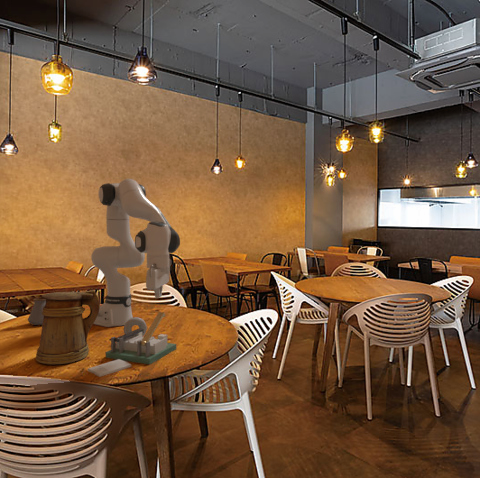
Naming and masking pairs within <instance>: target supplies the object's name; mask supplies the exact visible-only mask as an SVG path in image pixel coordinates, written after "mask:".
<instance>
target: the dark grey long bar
mask: <svg viewBox="0 0 480 478" xmlns="http://www.w3.org/2000/svg"><path fill="white" fill-rule="evenodd" d="M140 332H142V334H143V333H144V329H139V328H137V329H134V330H132V331H131V332H129V333H127V334H122V335H120V336H118V337H115V338H114V341H115V342H119V339H120V338H124V339H126V338H129V337H131V336H133V335H135V334H138V333H140Z"/></svg>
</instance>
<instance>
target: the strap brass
mask: <svg viewBox="0 0 480 478" xmlns="http://www.w3.org/2000/svg"><path fill="white" fill-rule="evenodd" d="M165 317H166V314H165V312H161V311H159V312H158V313H157V314H156V316H155V318H154V319H153V320H152V321H153V322H152V323H151V325H150V326H149V327H148V328H147V330H146V333H145V335H144V336H143V337H144V338H143V339H142V341H141V342H140V345H143V346H146V342H148V341H149V340H150V338H151V337H153V334H154V333H155V331H156V329H157V328H158V326H159V324H160V323H161V321H162V319H163V318H165Z"/></svg>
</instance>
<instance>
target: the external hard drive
mask: <svg viewBox="0 0 480 478" xmlns="http://www.w3.org/2000/svg"><path fill="white" fill-rule="evenodd" d="M131 367H132V364H131V363H129V362H128V361H125V360H120V359H113V360H112V361H108V362H105V363H102V364H99V365H95V366H92V367H88V368H87V372H89V373H90V374H94V375H95V376H97V377H99V378H100V377H103V376H107V375H109V374H113V373H116V372H119V371H120V372H121V371H122V370H126V369H129V368H131Z"/></svg>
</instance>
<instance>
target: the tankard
mask: <svg viewBox="0 0 480 478" xmlns="http://www.w3.org/2000/svg"><path fill="white" fill-rule="evenodd" d="M40 298H43V299H46V304H45V306H44V307H43V312H42V315H44V317H43V324H42V326H41V333H40V339H39V345H38V348H37V349H36V355H35V360H36V362H38V363H40V364H44V365H66V364H70V363H76V362H78V361H82V360H83V359H84V358H86V357H87V356H88V355H89V350H90V348H89V344H88V342H87V341H88V335H89V332H90V329H91V328H92V326H93V325H94V324H93V323H94V322H95V320H96V318H97V316H98V313H99V309H100V306H101V305H100V304H101V303H100V298H99V297H98V295H97V293H96V290H95V289H91V290H86V291H72V292H71V291H63V292H62V291H61V292H59V291H57V292H50V293H46V294H45V293H44V294H42V295H41V296H40ZM83 306H88V307H89V311H90V312H89V314H88V315H87V316H86V317H85V318H84V316H83V313H84V312H85V311H86V308H85V307H83ZM75 361H76V362H75Z"/></svg>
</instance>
